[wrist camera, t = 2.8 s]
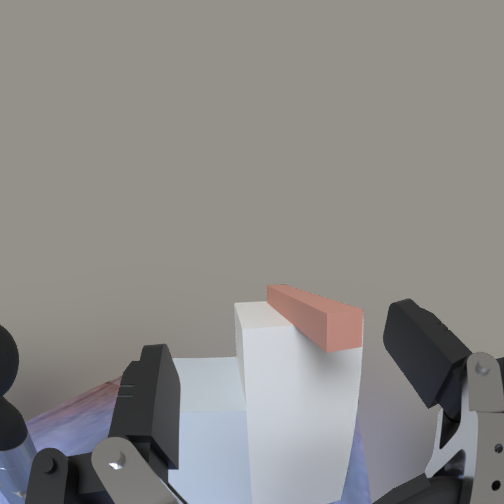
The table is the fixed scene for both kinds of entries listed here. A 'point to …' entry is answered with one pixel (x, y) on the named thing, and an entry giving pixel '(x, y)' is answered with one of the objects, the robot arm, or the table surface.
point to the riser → (266, 417)
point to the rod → (319, 317)
